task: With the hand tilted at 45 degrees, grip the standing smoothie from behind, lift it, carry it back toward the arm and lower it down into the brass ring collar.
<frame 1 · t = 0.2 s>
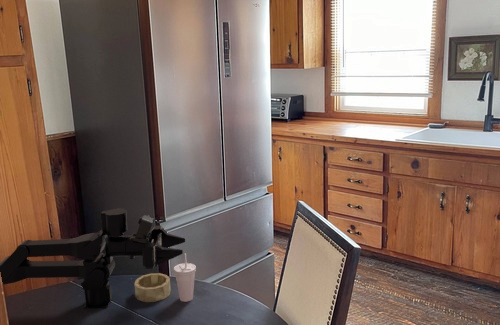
hand: (183, 245, 132), 16 cm above the table, tool horizontal, fingers open, 9 cm apart
smoothie: (186, 299, 136), on the table
collar: (153, 293, 139), on the table
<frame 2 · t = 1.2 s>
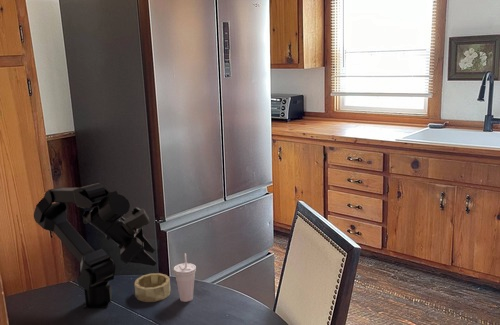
hand: (154, 257, 131), 14 cm above the table, tool tilted 45°, fingers open, 9 cm apart
nothing on the table moved.
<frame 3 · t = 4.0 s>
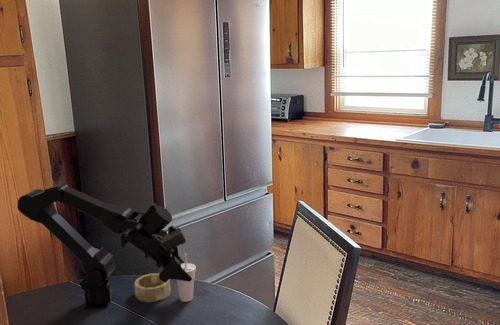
hand: (189, 275, 135), 7 cm above the table, tool tilted 45°, fingers closed on smoothie, 6 cm apart
smoothie: (186, 299, 136), on the table, touching gripper
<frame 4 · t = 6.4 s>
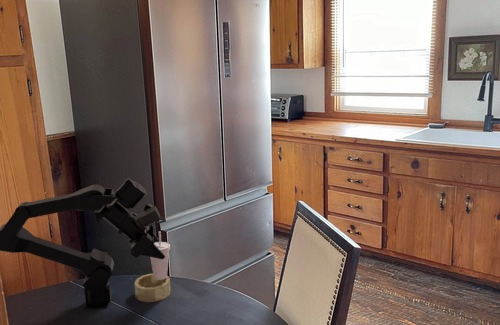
hand: (163, 253, 136), 13 cm above the table, tool tilted 45°, fingers closed on smoothie, 6 cm apart
smoothie: (160, 277, 137), point 6 cm above the table, touching gripper
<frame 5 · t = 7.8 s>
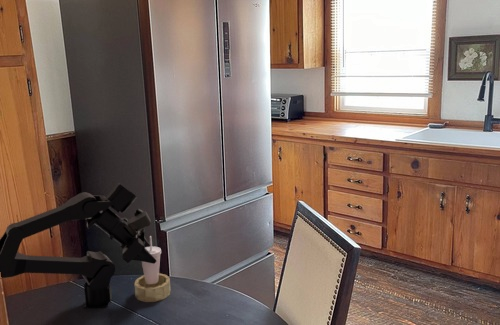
hand: (155, 257, 137), 11 cm above the table, tool tilted 45°, fingers closed on smoothie, 6 cm apart
smoothie: (152, 281, 138), point 4 cm above the table, touching gripper
when the fingers open (8 cm above the table, at t = 8.9 s): smoothie drops 1 cm, resting in collar.
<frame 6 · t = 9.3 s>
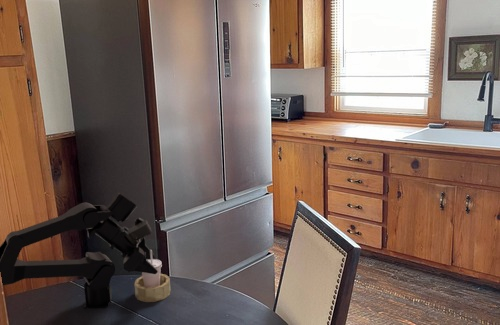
hand: (156, 266, 138), 9 cm above the table, tool tilted 45°, fingers open, 9 cm apart
smoothie: (153, 294, 139), resting in collar
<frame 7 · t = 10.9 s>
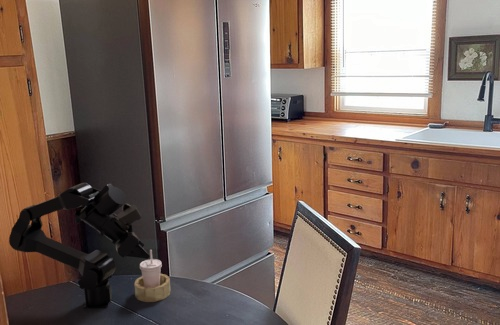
hand: (146, 251, 136), 14 cm above the table, tool tilted 45°, fingers open, 9 cm apart
nothing on the table moved.
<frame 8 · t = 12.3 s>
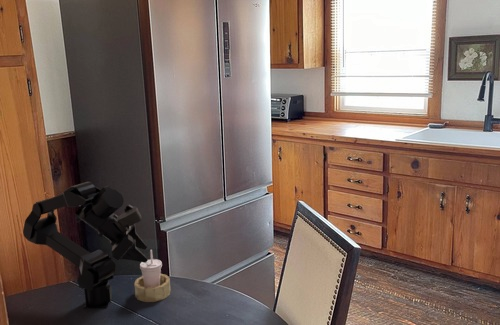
hand: (146, 254, 134), 14 cm above the table, tool tilted 45°, fingers open, 9 cm apart
nothing on the table moved.
at the end: smoothie 0.2 cm from the collar (horizontally); smoothie tilted 0°; the gripper is holding nothing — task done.
